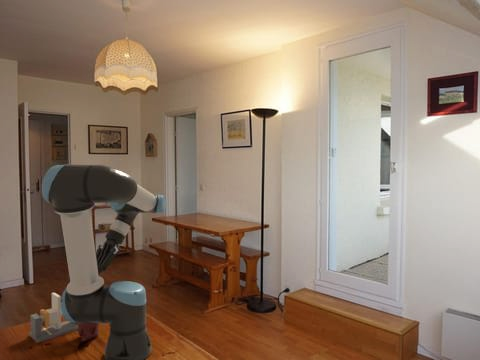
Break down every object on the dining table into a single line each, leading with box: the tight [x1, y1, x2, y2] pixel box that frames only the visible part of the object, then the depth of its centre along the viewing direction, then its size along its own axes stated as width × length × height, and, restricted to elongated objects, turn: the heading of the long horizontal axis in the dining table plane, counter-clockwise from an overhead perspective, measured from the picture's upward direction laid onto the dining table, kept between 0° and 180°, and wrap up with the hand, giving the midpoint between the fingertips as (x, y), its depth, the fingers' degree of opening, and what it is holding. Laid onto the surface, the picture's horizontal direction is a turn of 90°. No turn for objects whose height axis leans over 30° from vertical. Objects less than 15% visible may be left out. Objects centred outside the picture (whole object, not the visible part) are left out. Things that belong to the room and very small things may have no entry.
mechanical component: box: [74, 322, 100, 342], centre depth 132 cm, size 12×10×10 cm
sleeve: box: [45, 292, 62, 329], centre depth 135 cm, size 4×6×12 cm, turn 48°
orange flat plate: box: [39, 308, 50, 328], centre depth 133 cm, size 1×5×5 cm, turn 47°
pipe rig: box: [29, 312, 79, 343], centre depth 137 cm, size 17×8×8 cm, turn 137°
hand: (88, 285), depth 143 cm, fingers closed
